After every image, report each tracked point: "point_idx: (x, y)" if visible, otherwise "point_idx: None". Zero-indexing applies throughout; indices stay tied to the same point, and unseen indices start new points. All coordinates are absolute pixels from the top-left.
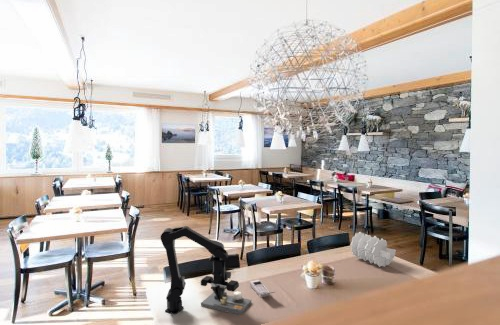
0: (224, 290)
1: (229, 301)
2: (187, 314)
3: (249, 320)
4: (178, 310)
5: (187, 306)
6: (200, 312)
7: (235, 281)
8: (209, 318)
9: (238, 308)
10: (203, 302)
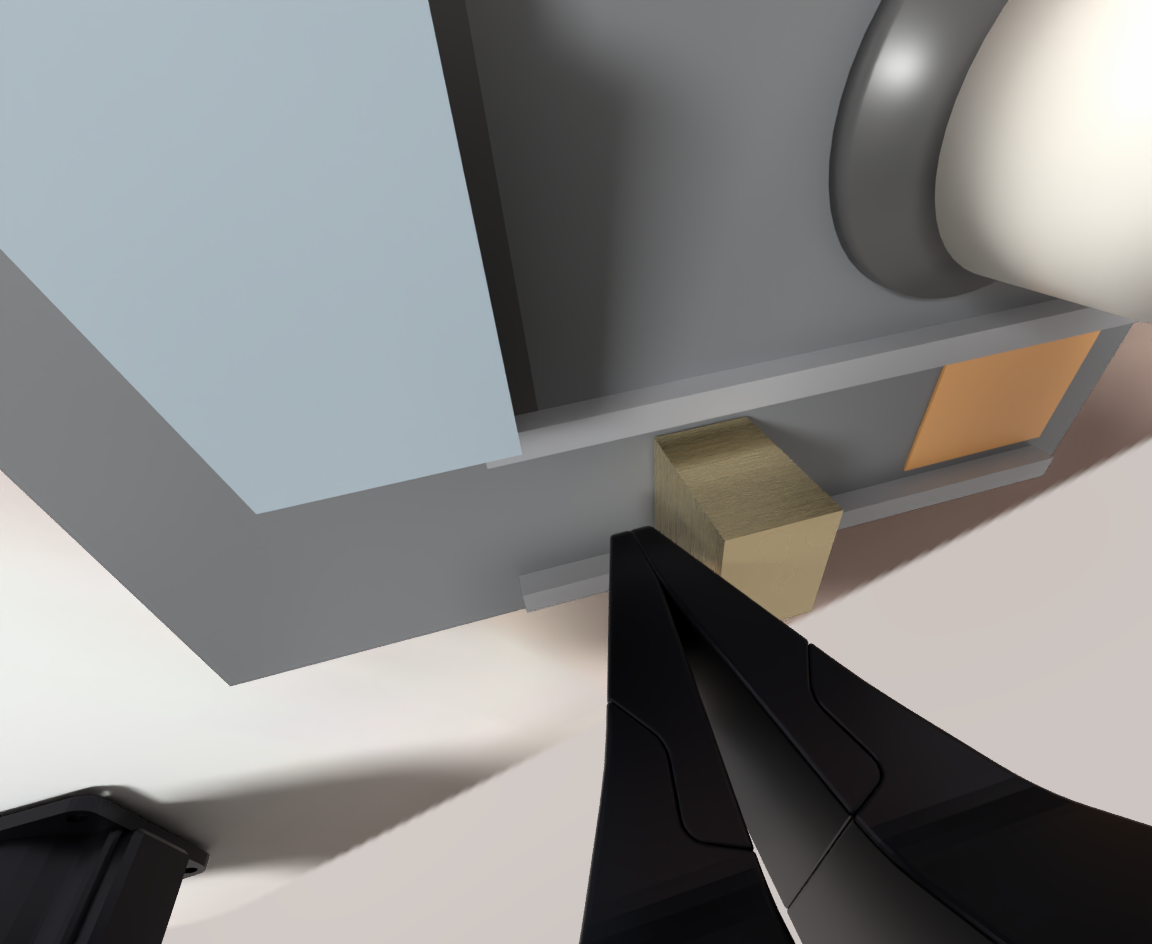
0: (428, 11)
1: (768, 303)
2: (333, 785)
3: (1099, 464)
4: (185, 869)
5: (81, 749)
6: (433, 696)
7: None
8: None
9: (1011, 425)
10: (258, 656)
